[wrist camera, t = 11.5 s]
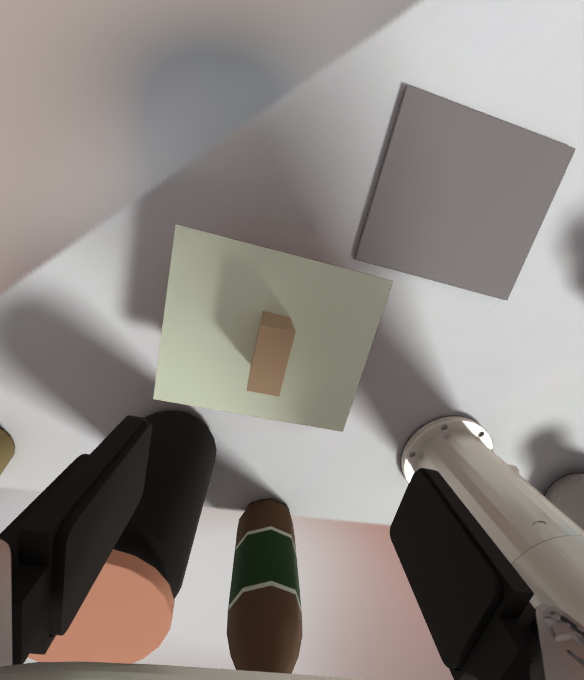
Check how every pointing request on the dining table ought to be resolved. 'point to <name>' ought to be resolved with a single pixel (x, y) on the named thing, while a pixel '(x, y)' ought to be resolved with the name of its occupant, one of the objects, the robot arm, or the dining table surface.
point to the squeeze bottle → (5, 449)
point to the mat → (460, 195)
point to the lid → (264, 331)
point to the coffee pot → (569, 497)
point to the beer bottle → (265, 591)
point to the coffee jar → (145, 552)
